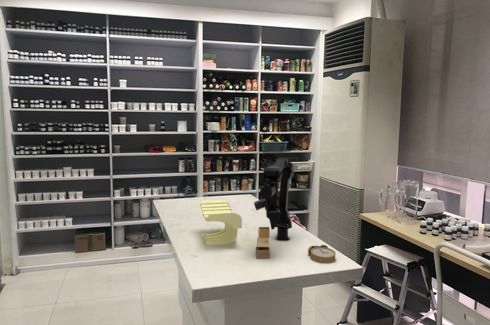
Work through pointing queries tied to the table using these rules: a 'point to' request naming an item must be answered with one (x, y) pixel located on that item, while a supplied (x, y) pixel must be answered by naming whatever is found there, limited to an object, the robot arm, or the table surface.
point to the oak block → (262, 242)
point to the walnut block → (262, 253)
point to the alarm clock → (321, 254)
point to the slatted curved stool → (221, 213)
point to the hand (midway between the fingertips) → (271, 226)
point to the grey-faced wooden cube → (263, 232)
